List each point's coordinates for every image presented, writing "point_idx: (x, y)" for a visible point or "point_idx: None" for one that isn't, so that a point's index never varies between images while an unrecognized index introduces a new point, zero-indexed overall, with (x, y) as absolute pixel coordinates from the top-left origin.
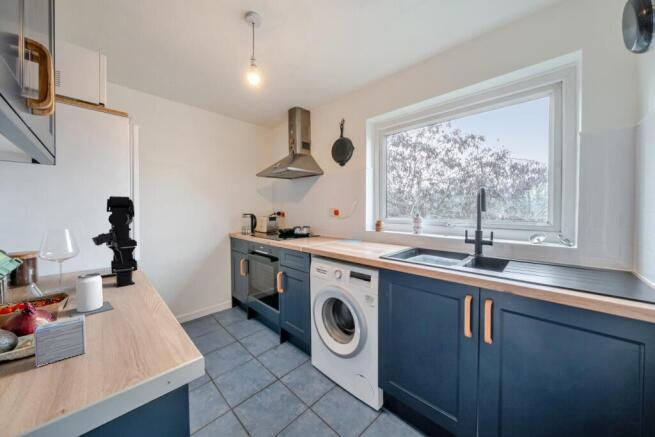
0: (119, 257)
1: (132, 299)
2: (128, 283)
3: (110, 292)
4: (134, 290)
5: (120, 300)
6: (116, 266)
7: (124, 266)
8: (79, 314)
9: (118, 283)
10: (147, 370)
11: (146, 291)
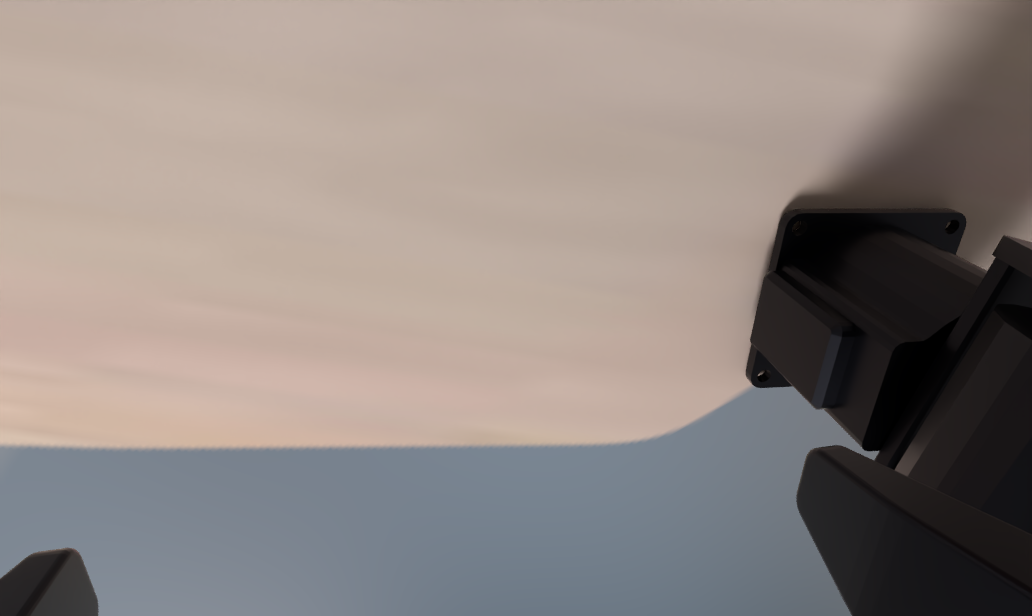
0: (898, 608)
1: (11, 236)
2: (755, 332)
3: (622, 105)
4: (454, 327)
5: (77, 119)
6: (1000, 362)
7: (918, 461)
8: None
9: (846, 247)
10: None
11: (285, 411)
